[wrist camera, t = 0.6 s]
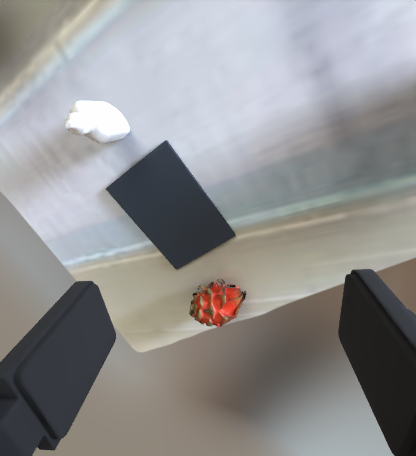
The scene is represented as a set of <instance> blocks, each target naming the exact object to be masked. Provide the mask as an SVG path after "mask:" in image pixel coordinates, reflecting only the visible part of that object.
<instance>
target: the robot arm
mask: <svg viewBox="0 0 416 456" xmlns="http://www.w3.org/2000/svg"><path fill="white" fill-rule="evenodd" d="M338 333H339V338H340V341H341V344H342V346H343V348H344V350H345V352H346V354H347V357H348V358H349V361H350V363H351V365H352V368H353V370H354V372H355V374H356V376H357V378H358V381H359V382H360V385H361V387H362V389H363V391H364V394H365V396H366V398H367V400H368V402H369V404H370V406H371V409H372V411H373V413H374V415H375V417H376V420H377V422H378V424H379V426H380V428H381V430H382V432H383V434H384V437H385V439H386V441H387V443H388V446H389V448H390V450H391V451H392V453H393V454H394V455H395V456H416V315H415V314H413V312H411V311H410V310H408V309H407V308H406V307H405V306H404V305H403V304H402V303H401V301H400V300H399V299H398V298H397V297H396V296H395V295H394V293H393V292H392V291H391V290H390V289H389V288H388V287H387V285H386V284H385V283H384V282H383V281H382V280H381V279H380V277H379V276H378V275H377V274H376V273H375V272H374V271H373V270H372V269H362V270H352V271H351V274H347V275H346V278H345V285H344V293H343V300H342V307H341V315H340V323H339V331H338ZM115 339H116V333H115V330H114V327H113V324H112V322H111V319H110V317H109V314H108V311H107V309H106V306H105V303H104V301H103V298H102V295H101V293H100V290H99V287H98V286H97V285H96V284H94V282H92V281H78V282H75V283H74V284H73V285H72V286H71V287H70V288H69V290H68V291H67V292H66V293H65V294H64V295H63V296H62V297H61V298H60V299H59V300H58V301H57V302H56V303H55V304H54V305H53V307H52V308H51V309H50V310H49V311H48V312H47V313H46V314H45V315H44V316H43V317H42V318H41V319H40V320H39V322H38V323H37V324H36V325H35V326H34V327H33V328H32V329H31V330H30V331H29V332H28V333H27V334H26V336H24V338H23V339H22V340H21V341H20V342H19V343H18V344H17V345H16V346H15V347H14V348H13V349H12V351H10V353H9V354H8V355H7V356H6V357H5V358H4V359H3V360H2V361H1V362H0V456H32V454H33V453H34V451H35V449H36V448H37V447H38V448H39V449H41V450H55V449H56V447H57V445H58V443H59V442H60V440H61V439H62V438H63V437H64V436H65V435H66V434H67V432H68V431H69V429H70V427H71V425H72V423H73V421H74V420H75V418H76V415H77V414H78V412H79V410H80V408H81V406H82V404H83V402H84V400H85V398H86V396H87V394H88V393H89V391H90V389H91V387H92V385H93V383H94V381H95V379H96V377H97V375H98V373H99V371H100V369H101V368H102V366H103V364H104V362H105V360H106V358H107V356H108V354H109V352H110V350H111V348H112V347H113V345H114V343H115Z"/></svg>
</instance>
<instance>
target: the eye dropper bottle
mask: <svg viewBox="0 0 416 456" xmlns="http://www.w3.org/2000/svg"><path fill="white" fill-rule="evenodd" d="M65 126H66V127H67V128H68V130H69V131H70V132H71V133H73V134H75V135H82V134H84V135H85V136H86V137H88V138H89V139H91V140H93V141H95V142H97V143H101V144H104V143H108V142H113V141H116V140H120V139H123V138H125V136H126V135H127V134H128V133H129V131H130V128H129V125H128V123H127V121H126V119H125V118H124V116H123V115H122V114H121V113H120V112H119V111H118V110H117V109H116V108H115V107H113V106H112V105H110V104H108V103H106V102H98V101H77V102H75V103H74V105H73V106H72V107H71V109H70V114H69V115H68V116H67V117H66V122H65Z"/></svg>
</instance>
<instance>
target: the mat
mask: <svg viewBox="0 0 416 456" xmlns="http://www.w3.org/2000/svg"><path fill="white" fill-rule="evenodd" d="M106 190H107V191H108V192H109V193H110V194H111V196H112V197H113V198H114V199H115V200H116V201H117V202H118V204H119V205H120V206H121V207H122V208H123V209H124V210H125V212H126V213H127V214H128V215H129V216H130V217H131V218H132V220H133V221H134V222H135V223H136V224H137V225H138V226H139V228H140V229H141V230H142V231H143V232H144V233H145V234H146V236H147V237H148V238H149V239H150V240H151V241H152V242H153V244H154V245H155V246H156V247H157V248H158V249H159V250H160V252H161V253H162V254H163V255H164V256H165V257H166V258H167V260H168V261H169V262H170V263H171V264H172V265H173V266H174V268H175V269H178V268H180V267H182V266H183V265H185V264H187V263H189V262H191V261H192V260H194V259H196V258H198V257H199V256H201V255H203V254H205V253H206V252H208V251H210V250H212V249H213V248H215V247H217V246H219V245H220V244H222V243H224V242H226V241H227V240H229V239H231V238H233V237H234V236H236V235H235V233H234V232H233V230H232V229H231V228H230V226H229V225H228V223H227V222H226V221H225V219H224V218H223V217H222V215H221V214H220V212H219V211H218V210H217V208H216V207H215V206H214V204H213V203H212V201H211V200H210V199H209V197H208V196H207V195H206V193H205V192H204V191H203V189H202V188H201V186H200V185H199V184H198V182H197V181H196V180H195V178H194V177H193V175H192V174H191V173H190V171H189V170H188V169H187V167H186V166H185V165H184V163H183V162H182V160H181V159H180V158H179V156H178V155H177V154H176V152H175V151H174V149H173V148H172V147H171V145H170V144H169V143H168V141H167V140H166V141H164V142H163V143H162V144H161V145H159V146H158V147H157V148H156V149H155V150H153V151H152V152H151V153H150V154H148V155H147V156H146V157H145V158H143V159H142V160H141V161H140V162H138V163H137V164H136V165H135V166H133V167H132V168H131V169H130V170H128V171H127V172H126V173H125V174H123V175H122V176H121V177H120V178H119V179H117V180H116V181H115V182H114V183H112V184H111V185H110V186H109V187H107V188H106Z"/></svg>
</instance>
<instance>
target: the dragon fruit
mask: <svg viewBox="0 0 416 456" xmlns="http://www.w3.org/2000/svg"><path fill="white" fill-rule="evenodd" d="M217 281H218V282H220V283H221V284H222V285H221V286H219V287H218V286H217V283H216V282H211V283H210V284H209V287H208V288H207V289H206V287H205V286H202V285H201V286H199V287H201V288H202V289H203V291H202V293H198V292H196V293H193V295H194V299H193V300H192V301H191V306H190V312H189V314H190V315H191V316H192V317H195V320H196V321H199V322H200V323H201V324H204V323H206V325H207V326H212V325H216V326H217V327H221V326H223V325H224V324H226V323H227V322H229V321H230V320H232V319H234V318H236V316H237V314H238V311H239V308H240V306H241V305H242V302H243V301H244V299H245V297H246V296H245V295H246V291H244V293H243V291H242V292H241V291H240V288H239V287H238V286H237V285H233V284H229V285H230V286H229V285H227V286H229V287H235V288H226V287H225V282H224V281H223V279H218V280H217ZM212 285H213V286H212ZM211 286H212V288H211ZM199 287H198V289H199Z"/></svg>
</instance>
